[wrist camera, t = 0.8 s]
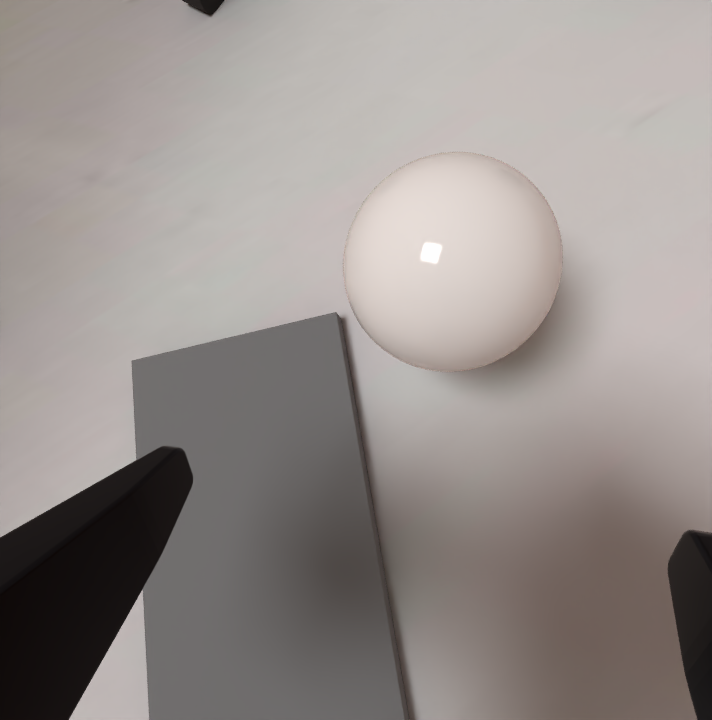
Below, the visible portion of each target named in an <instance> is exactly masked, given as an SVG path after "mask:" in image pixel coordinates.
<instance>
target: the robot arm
mask: <svg viewBox="0 0 712 720" xmlns="http://www.w3.org/2000/svg"><path fill="white" fill-rule="evenodd" d="M192 485H193V473H192V470H191V467H190V465H189V462H188V459H187V456H186V453H185V451H184V450H183V449H182V448H179V447H173V446H161V447H159V448H157V449H155V450H154V451H152V452H150V453H148V454H147V455H145V456H143V457H141V458H139V459H138V460H136V461H134V462H132V463H131V464H129V465H127V466H125V467H124V468H122V469H120V470H118V471H117V472H115V473H113V474H111V475H110V476H108V477H106V478H104V479H103V480H101V481H99V482H97V483H95V484H94V485H92V486H90V487H88V488H87V489H85V490H83V491H81V492H80V493H78V494H76V495H74V496H73V497H71V498H69V499H67V500H66V501H64V502H62V503H60V504H59V505H57V506H55V507H53V508H51V509H50V510H48V511H46V512H44V513H43V514H41V515H39V516H37V517H36V518H34V519H32V520H30V521H29V522H27V523H25V524H23V525H22V526H20V527H18V528H16V529H14V530H13V531H11V532H9V533H7V534H6V535H4V536H2V537H0V720H69V718H70V716H71V715H72V713H73V711H74V709H75V708H76V706H77V704H78V702H79V701H80V699H81V697H82V695H83V693H84V692H85V690H86V688H87V686H88V685H89V683H90V681H91V679H92V678H93V676H94V674H95V672H96V670H97V669H98V667H99V665H100V663H101V662H102V660H103V658H104V656H105V655H106V653H107V651H108V649H109V648H110V646H111V644H112V642H113V640H114V639H115V637H116V635H117V633H118V632H119V630H120V628H121V626H122V625H123V623H124V621H125V619H126V617H127V616H128V614H129V612H130V610H131V609H132V607H133V605H134V603H135V602H136V600H137V598H138V596H139V594H140V593H141V591H142V589H143V587H144V586H145V584H146V582H147V580H148V579H149V577H150V575H151V573H152V572H153V570H154V568H155V566H156V564H157V562H158V561H159V559H160V557H161V555H162V553H163V551H164V549H165V546H166V544H167V542H168V540H169V538H170V535H171V533H172V531H173V529H174V526H175V524H176V522H177V520H178V517H179V515H180V513H181V511H182V508H183V506H184V504H185V502H186V499H187V497H188V495H189V493H190V490H191V488H192ZM668 577H669V583H670V589H671V595H672V601H673V607H674V613H675V619H676V625H677V631H678V637H679V643H680V649H681V655H682V660H683V666H684V671H685V676H686V680H687V683H688V687H689V691H690V695H691V699H692V702H693V706H694V709H695V713H696V716H697V720H712V533H709V532H702V531H696V530H688V531H686V532H684V534H683V535H682V537H681V539H680V541H679V542H678V544H677V546H676V548H675V550H674V552H673V553H672V555H671V557H670V559H669V563H668Z"/></svg>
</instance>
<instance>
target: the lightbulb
mask: <svg viewBox="0 0 712 720" xmlns="http://www.w3.org/2000/svg"><path fill="white" fill-rule="evenodd" d="M562 266H563V249H562V240H561V235H560V231H559V227H558V224H557V221H556V218H555V216H554V213H553V211H552V209H551V207H550V205H549V204H548V202H547V200H546V199H545V197H544V196H543V195H542V193H541V192H540V191H539V189H538V188H537V187H536V186H535V185H534V184H533V183H532V182H531V181H530V180H529V179H528V178H527V177H526V176H524V175H523V174H522V173H520V172H519V171H518V170H516V169H515V168H513V167H511V166H510V165H508V164H506V163H504V162H502V161H500V160H497V159H495V158H492V157H489V156H485V155H481V154H476V153H468V152H447V153H439V154H434V155H430V156H426V157H423V158H420V159H417V160H415V161H412V162H410V163H408V164H406V165H404V166H402V167H401V168H399V169H397V170H396V171H394V172H393V173H391V174H390V175H389V176H387V177H386V178H385V179H384V180H383V181H382V182H380V183H379V184H378V185H377V186H376V187H375V188H374V189H373V191H372V192H371V193H370V194H369V195H368V197H367V198H366V199H365V201H364V202H363V203H362V205H361V207H360V208H359V210H358V212H357V213H356V215H355V217H354V220H353V222H352V224H351V227H350V229H349V232H348V236H347V239H346V244H345V249H344V257H343V276H344V284H345V289H346V294H347V297H348V300H349V303H350V306H351V308H352V310H353V313H354V315H355V317H356V318H357V320H358V322H359V323H360V325H361V326H362V328H363V329H364V331H365V332H366V333H367V334H368V336H369V337H370V338H371V339H372V340H373V341H374V342H375V343H376V344H377V345H378V346H379V347H381V348H382V349H383V350H384V351H386V352H387V353H388V354H390V355H392V356H393V357H395V358H397V359H398V360H400V361H402V362H405V363H407V364H409V365H412V366H415V367H418V368H422V369H426V370H432V371H440V372H457V371H465V370H471V369H475V368H479V367H482V366H485V365H488V364H491V363H493V362H495V361H497V360H499V359H501V358H503V357H505V356H507V355H508V354H510V353H511V352H513V351H514V350H516V349H517V348H518V347H519V346H521V345H522V344H523V343H524V342H525V341H526V340H527V339H528V338H529V337H530V336H531V335H532V334H533V333H534V332H535V331H536V330H537V328H538V327H539V326H540V324H541V323H542V322H543V320H544V319H545V317H546V315H547V314H548V312H549V310H550V308H551V306H552V304H553V302H554V299H555V297H556V294H557V291H558V288H559V284H560V279H561V274H562Z"/></svg>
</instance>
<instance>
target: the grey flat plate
mask: <svg viewBox="0 0 712 720" xmlns="http://www.w3.org/2000/svg"><path fill="white" fill-rule="evenodd" d="M132 379H133V399H134V419H135V439H136V459H137V460H138V459H139V458H141V457H143V456H145V455H147V454H148V453H150V452H152V451H154V450H155V449H157V448H159V447H161V446H173V447H179V448H182V449H183V450H184V451H185V453H186V456H187V459H188V462H189V465H190V467H191V470H192V473H193V485H192V488H191V490H190V493H189V495H188V497H187V499H186V502H185V504H184V506H183V508H182V511H181V513H180V515H179V517H178V520H177V522H176V524H175V526H174V529H173V531H172V533H171V535H170V538H169V540H168V542H167V544H166V546H165V549H164V551H163V553H162V555H161V557H160V559H159V561H158V562H157V564H156V566H155V568H154V570H153V572H152V573H151V575H150V577H149V579H148V580H147V582H146V584H145V586H144V587H143V601H144V621H145V641H146V662H147V682H148V702H149V720H409V715H408V709H407V703H406V697H405V691H404V685H403V679H402V674H401V668H400V662H399V656H398V650H397V644H396V638H395V632H394V627H393V621H392V615H391V609H390V603H389V597H388V591H387V585H386V580H385V574H384V568H383V562H382V556H381V550H380V544H379V538H378V533H377V527H376V521H375V515H374V509H373V503H372V497H371V492H370V486H369V480H368V474H367V468H366V462H365V456H364V450H363V445H362V439H361V433H360V427H359V421H358V415H357V409H356V403H355V398H354V392H353V386H352V380H351V374H350V368H349V362H348V356H347V351H346V345H345V339H344V333H343V327H342V321H341V318H340V317H339V315H338V314H337V313H336V312H335V313H331V314H326V315H322V316H318V317H314V318H310V319H305V320H301V321H297V322H293V323H288V324H284V325H280V326H276V327H272V328H267V329H263V330H259V331H255V332H251V333H246V334H242V335H238V336H234V337H230V338H225V339H221V340H217V341H213V342H209V343H204V344H200V345H196V346H192V347H188V348H183V349H179V350H175V351H171V352H166V353H162V354H158V355H154V356H150V357H145V358H141V359H137V360H133V361H132Z"/></svg>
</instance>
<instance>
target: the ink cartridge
mask: <svg viewBox="0 0 712 720" xmlns="http://www.w3.org/2000/svg"><path fill="white" fill-rule="evenodd" d="M182 1H184V2H186V3H188V4H190V5H192V6H194V7H196V8H198V9H200V10H202V11H204V12H206V13H209V14H210V13H213V12H215V11H216V10H217V8H218V7H219V6H220V5H221V3H222V2H223V1H224V0H182Z"/></svg>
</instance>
